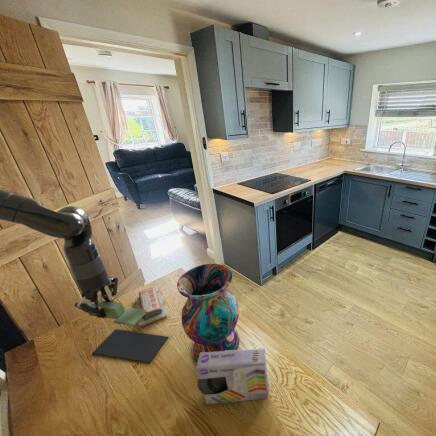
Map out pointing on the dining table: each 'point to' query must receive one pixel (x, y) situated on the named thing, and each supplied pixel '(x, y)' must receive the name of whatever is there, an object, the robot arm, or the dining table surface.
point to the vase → (209, 309)
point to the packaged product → (150, 306)
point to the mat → (131, 345)
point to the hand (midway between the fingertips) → (106, 312)
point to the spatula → (120, 313)
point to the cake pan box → (232, 375)
